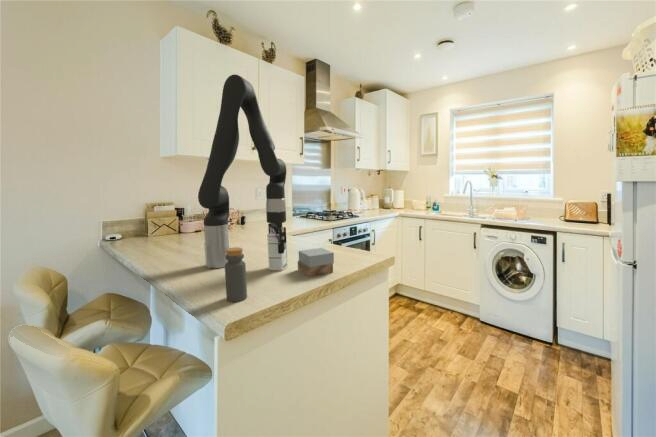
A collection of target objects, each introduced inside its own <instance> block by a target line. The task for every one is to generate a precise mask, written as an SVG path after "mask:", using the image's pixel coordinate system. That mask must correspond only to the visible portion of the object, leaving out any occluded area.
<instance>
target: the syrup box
mask: <svg viewBox="0 0 656 437" xmlns="http://www.w3.org/2000/svg"><path fill="white" fill-rule="evenodd" d="M266 236H267V255H268V269H269V271H278V272H279V271H284V269H286V268H287V267H288V252H287V251H288V250H287V248H288V247H287V242H286V243H284V253H281V254H279V253H278V242H277V239H275V234H274V233H270V234H269V233H267V234H266ZM277 236H279V234H277ZM281 240H282V238H281Z"/></svg>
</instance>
